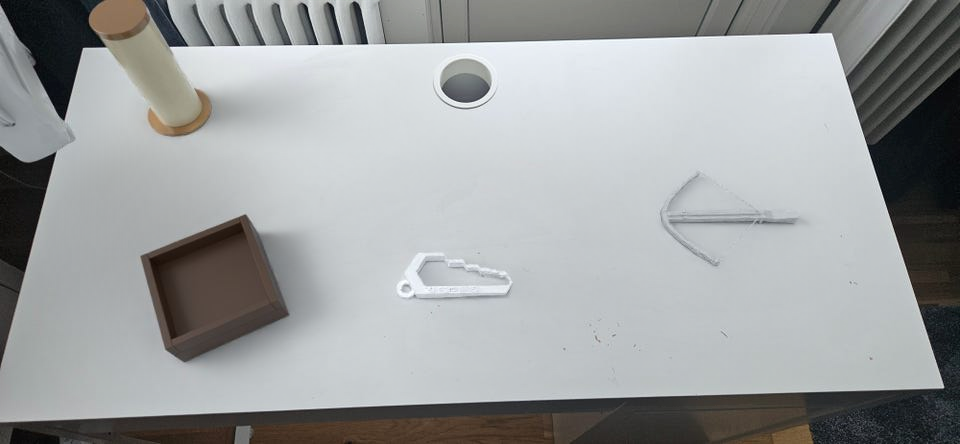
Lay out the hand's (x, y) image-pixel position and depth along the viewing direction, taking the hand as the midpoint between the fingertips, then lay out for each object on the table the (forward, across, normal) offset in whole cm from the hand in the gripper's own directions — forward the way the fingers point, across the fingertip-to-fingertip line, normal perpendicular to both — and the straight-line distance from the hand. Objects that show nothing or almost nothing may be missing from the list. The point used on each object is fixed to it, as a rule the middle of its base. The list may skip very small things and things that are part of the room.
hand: (44, 99), depth 53 cm
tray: (+18, -17, -2) cm, 25 cm away
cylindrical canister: (+22, +10, -8) cm, 25 cm away
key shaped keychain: (+18, -31, -24) cm, 43 cm away
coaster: (+22, +10, -8) cm, 26 cm away
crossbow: (+18, -43, -56) cm, 73 cm away
